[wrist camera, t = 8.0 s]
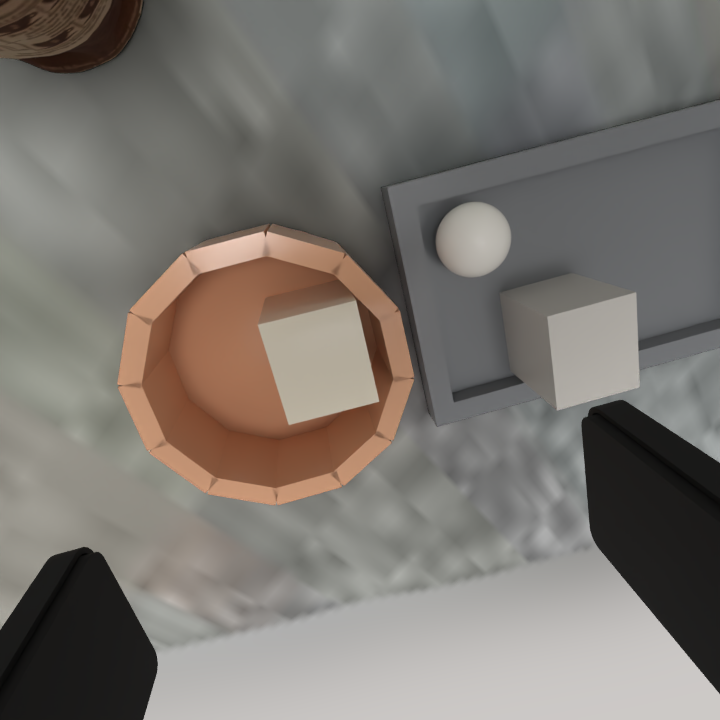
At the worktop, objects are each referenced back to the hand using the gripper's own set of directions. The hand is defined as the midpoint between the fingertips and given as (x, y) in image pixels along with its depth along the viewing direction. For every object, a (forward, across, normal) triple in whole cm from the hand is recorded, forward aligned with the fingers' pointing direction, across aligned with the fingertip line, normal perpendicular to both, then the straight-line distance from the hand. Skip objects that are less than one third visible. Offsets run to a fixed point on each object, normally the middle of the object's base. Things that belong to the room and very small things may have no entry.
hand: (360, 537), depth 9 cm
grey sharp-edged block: (+14, -10, +2) cm, 17 cm away
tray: (+14, -12, 0) cm, 19 cm away
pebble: (+14, -7, -3) cm, 15 cm away
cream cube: (+14, 0, 0) cm, 14 cm away
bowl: (+14, +2, 0) cm, 14 cm away
